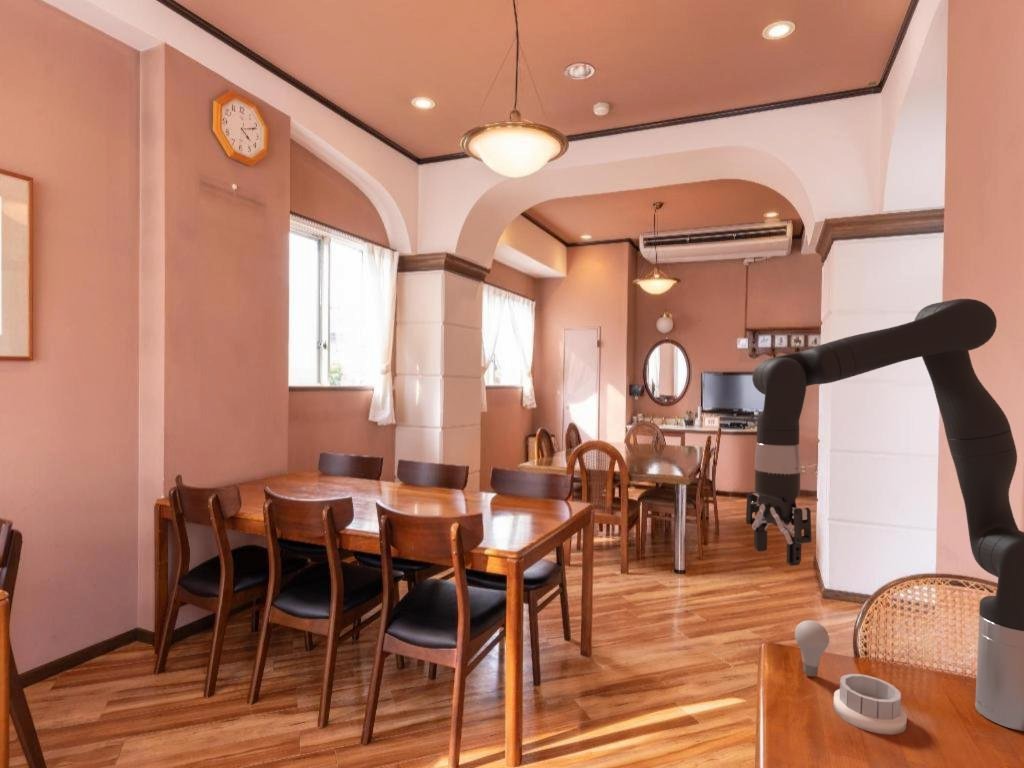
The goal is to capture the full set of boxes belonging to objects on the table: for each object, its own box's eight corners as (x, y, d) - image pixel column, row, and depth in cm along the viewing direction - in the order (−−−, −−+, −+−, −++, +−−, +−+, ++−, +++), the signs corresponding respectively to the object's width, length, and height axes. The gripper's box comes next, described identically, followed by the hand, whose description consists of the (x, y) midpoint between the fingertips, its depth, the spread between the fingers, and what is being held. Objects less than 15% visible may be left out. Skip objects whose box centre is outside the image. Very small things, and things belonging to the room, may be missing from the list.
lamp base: (881, 698, 109) (882, 672, 109) (921, 735, 98) (922, 706, 98) (821, 696, 109) (822, 670, 109) (854, 733, 98) (855, 703, 98)
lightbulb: (832, 686, 113) (834, 629, 113) (798, 682, 114) (800, 626, 114) (822, 670, 119) (824, 616, 119) (789, 666, 120) (791, 613, 120)
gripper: (824, 474, 100) (823, 568, 101) (768, 461, 114) (767, 544, 114) (787, 476, 98) (786, 572, 99) (734, 463, 112) (734, 547, 112)
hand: (776, 557), depth 107 cm, fingers open, 8 cm apart
